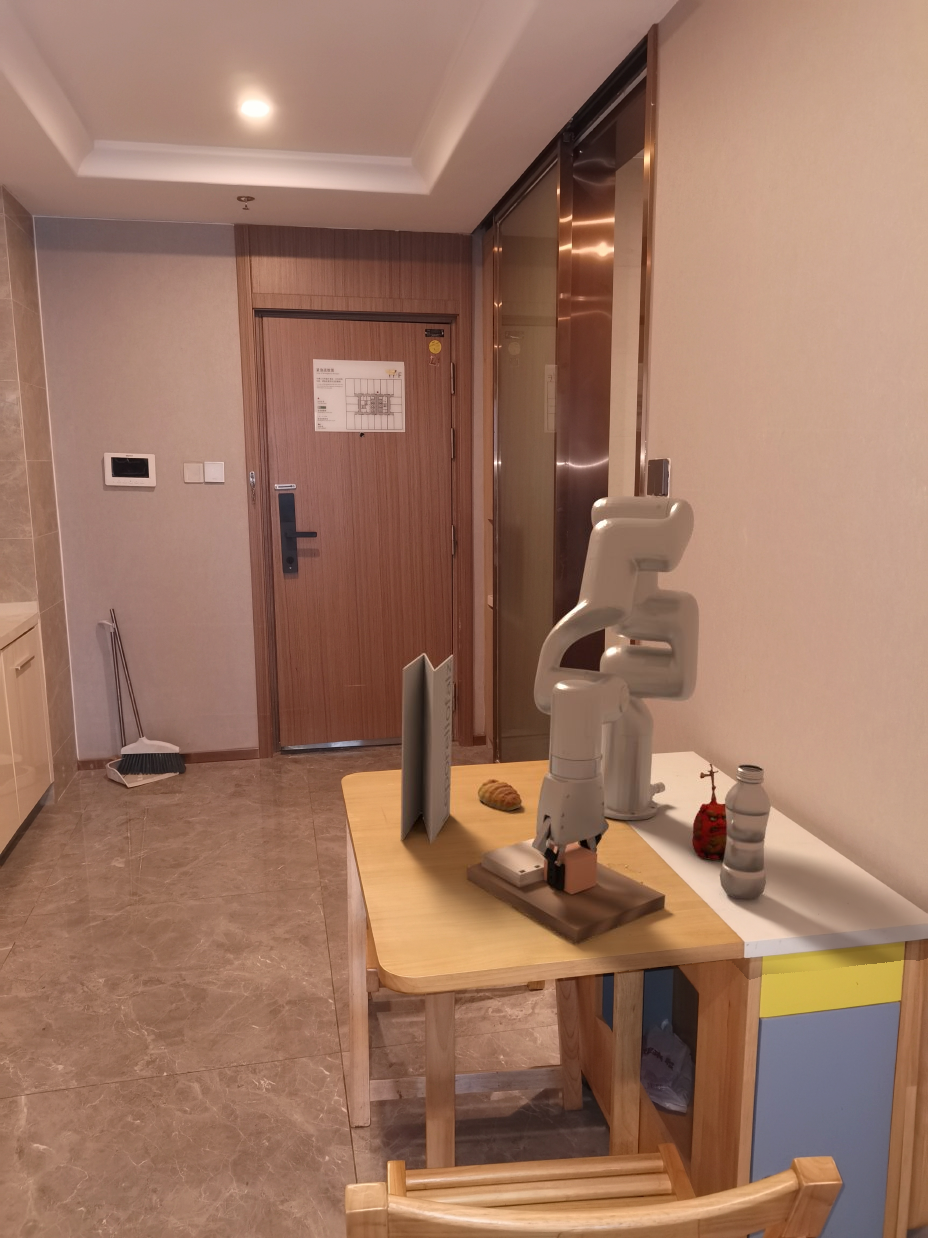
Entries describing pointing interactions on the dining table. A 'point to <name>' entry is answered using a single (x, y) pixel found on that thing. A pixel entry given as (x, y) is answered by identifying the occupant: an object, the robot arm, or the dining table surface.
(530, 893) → the wooden base board
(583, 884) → the salmon upright block
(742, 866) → the plastic bottle
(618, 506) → the robot arm
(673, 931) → the dining table surface
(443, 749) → the brochure
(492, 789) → the pastry
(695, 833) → the red clay folk toy
